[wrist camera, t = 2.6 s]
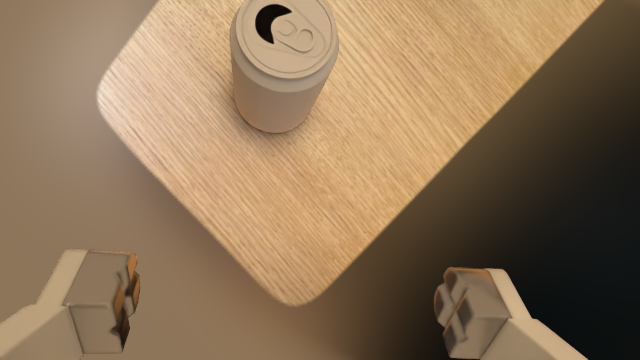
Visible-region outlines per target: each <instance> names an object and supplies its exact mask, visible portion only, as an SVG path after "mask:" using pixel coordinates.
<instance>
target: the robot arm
mask: <svg viewBox="0 0 640 360" xmlns="http://www.w3.org/2000/svg"><path fill="white" fill-rule="evenodd" d="M136 265H137V259H136V254H135V253H130V252H116V251H102V250H85V249H84V250H83V249H67V250H66V251H65V252H64V253H63V254H62V256H61V257H60V259H59V261H58V263H57V265H56V266H55V268H54V270H53V272H52V274H51V276H50V278H49V279H48V281H47V283H46V285H45V287H44V288H43V290H42V292H41V294H40V296H39V298H38V299H37V301H36V303H35V305H26V306H25V307H24V308H22V309H21V310H20V311H18V312H16V313H15V314H13V315H12V316H10V317H9V318H7V319H6V320H4V321H3V322H2V323H0V360H80V359H81V358H82V357H83V354H109V353H110V354H111V353H122V351H123V348H124V345H125V342H126V339H127V336H128V333H129V330H130V326H129V321H128V318H129V317H130V316H131V315H133V314H134V313H135V310H136V307H137V304H138V299H139V293H140V278H139V274H137V273H136V272H135V268H136ZM443 277H444V279H445V283H443V284H442V285H440V286H439V287H438V288H437V291H436V293H435V296H434V309H435V314H436V317H437V320H438V322H440V323H441V324H442V325H443V326H444V327H445V331H444V333H443V338H444V341H445V344H446V346H447V349H448V352H449V355H450V358H470V359H480V360H588V359H586V358H585V357H584V356H583V355H581V354H580V353H579V352H578V351H576V350H575V349H574V348H573V347H571V346H570V345H569V344H568V343H566V342H565V341H564V340H562V339H561V338H560V337H559V336H557V335H556V334H555V333H554V332H552V331H551V330H550V329H549V328H547V327H546V326H545V325H543V324H542V323H541V322H540V321H538V320H537V319H532V318H531V317H530V315H529V313H528V311H527V309H526V307H525V306H524V304H523V302H522V300H521V298H520V297H519V295H518V293H517V291H516V289H515V287H514V286H513V284H512V282H511V280H510V278H509V277H508V275H507V273H506V272H505V271H504V270H503V269H483V268H459V267H450V268H448V269H447V270H446V272H445V274H444V276H443Z"/></svg>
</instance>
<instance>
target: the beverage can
mask: <svg viewBox="0 0 640 360" xmlns="http://www.w3.org/2000/svg"><path fill="white" fill-rule="evenodd" d="M230 49H231V61H232V74H233V87H234V98H235V103H236V106H237V109H238V111H239V112H240V114H241V116H242V117H243V118H244V119H245V120H246V121H247V122H248V123H249V124H250V125H252V126H253V127H255V128H257V129H259V130H262V131H265V132H270V133H281V132H286V131H289V130H292V129H294V128H295V127H297V126H299V125H300V124H301V123H302V122H303V121H304V120H305V119H306V118H307V116H308V115H309V113H310V111H311V109H312V107H313V105H314V103H315V101H316V99H317V97H318V95H319V94H320V92H321V90H322V88H323V86H324V84H325V82H326V80H327V78H328V76H329V74H330V72H331V70H332V68H333V66H334V64H335V62H336V59H337V56H338V50H339V39H338V33H337V27H336V22H335V19H334V16H333V14H332V12H331V10H330V8H329V7H328V5H327V4H326V3H325V2H324V0H245V1H244V2H243V4H242V5H241V7H240V8H239V9H238V11H237V12H236V14H235V16H234V18H233V21H232V24H231V28H230Z"/></svg>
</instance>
